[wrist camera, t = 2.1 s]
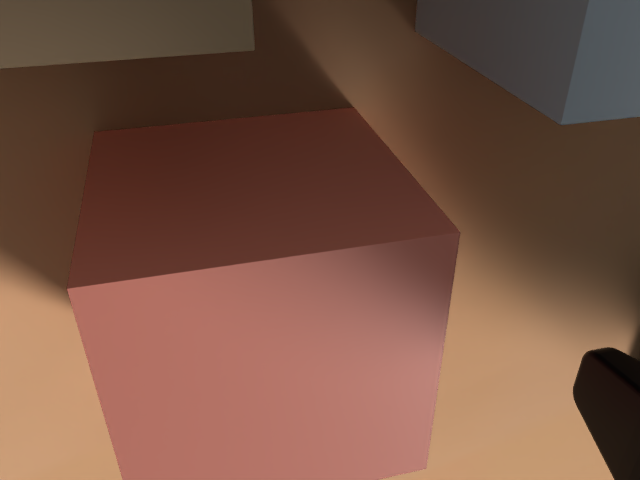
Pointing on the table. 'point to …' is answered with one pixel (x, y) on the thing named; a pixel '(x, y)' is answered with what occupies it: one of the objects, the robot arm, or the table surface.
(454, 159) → the table surface
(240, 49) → the walnut cube
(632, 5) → the slate cube
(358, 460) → the red cube
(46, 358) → the table surface
